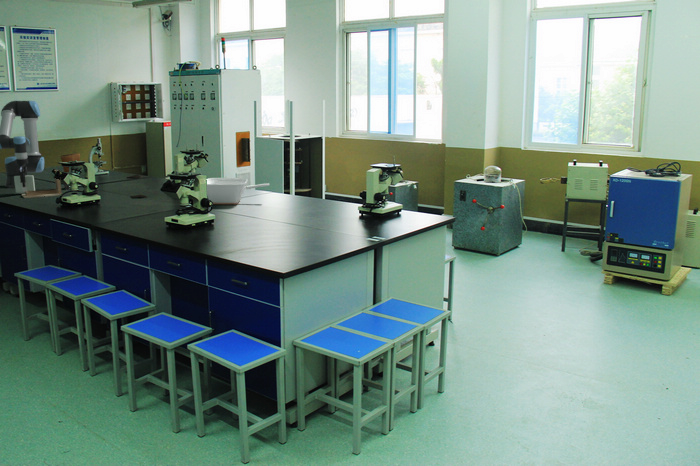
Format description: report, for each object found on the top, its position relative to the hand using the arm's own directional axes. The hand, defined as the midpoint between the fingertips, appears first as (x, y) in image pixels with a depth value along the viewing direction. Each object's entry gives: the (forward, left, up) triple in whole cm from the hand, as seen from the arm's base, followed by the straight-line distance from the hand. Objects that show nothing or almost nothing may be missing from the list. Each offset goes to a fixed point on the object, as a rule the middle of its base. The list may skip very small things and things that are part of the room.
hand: (25, 190), depth 431 cm
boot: (-10, +39, -3) cm, 40 cm away
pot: (+107, +116, -3) cm, 157 cm away
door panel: (0, 0, -1) cm, 1 cm away
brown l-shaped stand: (+11, +9, -2) cm, 14 cm away
